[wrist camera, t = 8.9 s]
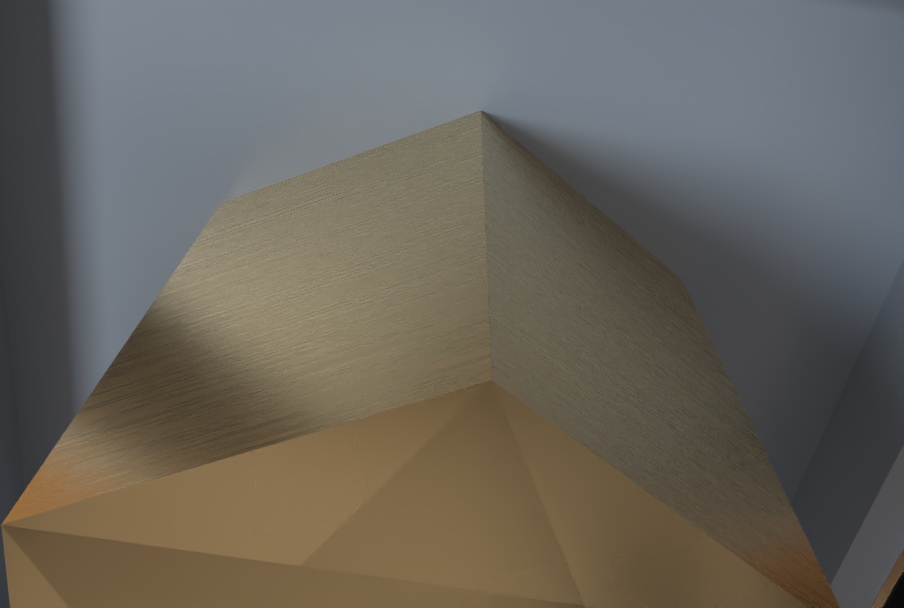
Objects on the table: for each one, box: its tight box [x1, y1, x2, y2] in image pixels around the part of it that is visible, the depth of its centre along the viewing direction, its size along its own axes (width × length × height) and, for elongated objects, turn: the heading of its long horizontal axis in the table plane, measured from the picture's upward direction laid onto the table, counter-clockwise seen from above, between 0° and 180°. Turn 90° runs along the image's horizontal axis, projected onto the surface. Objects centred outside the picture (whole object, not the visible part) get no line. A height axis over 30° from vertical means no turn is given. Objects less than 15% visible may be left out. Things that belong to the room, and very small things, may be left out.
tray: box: [0, 0, 904, 608], centre depth 10 cm, size 11×11×2 cm
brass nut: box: [1, 110, 840, 608], centre depth 8 cm, size 6×5×5 cm
